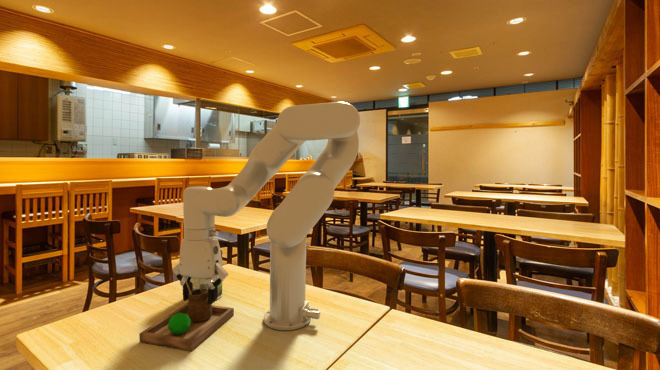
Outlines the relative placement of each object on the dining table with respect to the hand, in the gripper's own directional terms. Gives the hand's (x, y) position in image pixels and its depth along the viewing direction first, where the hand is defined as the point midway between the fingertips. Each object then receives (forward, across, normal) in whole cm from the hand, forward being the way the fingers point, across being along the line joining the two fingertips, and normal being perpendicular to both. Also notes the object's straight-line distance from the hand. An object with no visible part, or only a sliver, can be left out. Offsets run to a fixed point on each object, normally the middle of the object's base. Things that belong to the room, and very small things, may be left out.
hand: (200, 299), depth 88 cm
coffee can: (+6, +8, -14) cm, 17 cm away
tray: (+6, 0, +4) cm, 7 cm away
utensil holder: (+5, 0, 0) cm, 5 cm away
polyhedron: (+5, 0, +8) cm, 10 cm away
